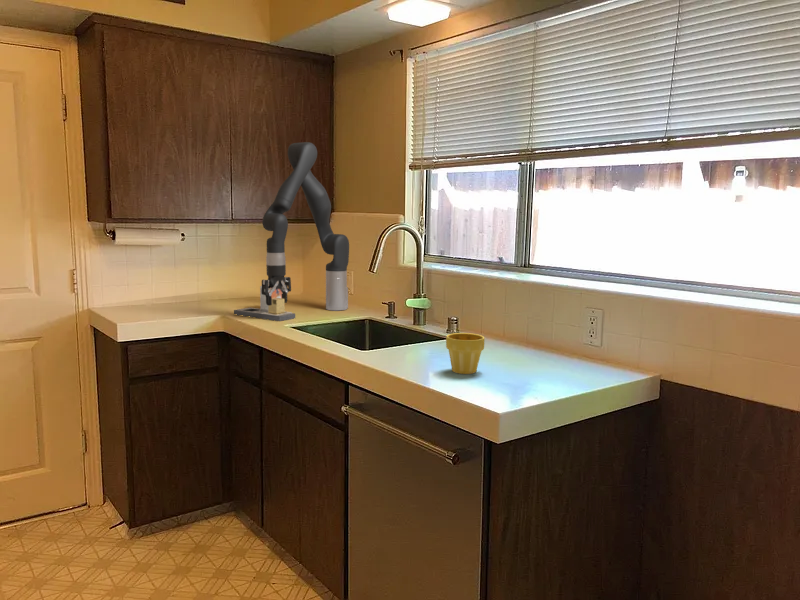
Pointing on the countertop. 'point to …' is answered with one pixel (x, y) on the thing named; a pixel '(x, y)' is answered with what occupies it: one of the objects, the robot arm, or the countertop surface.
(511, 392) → the countertop surface
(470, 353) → the plant pot
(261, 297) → the small box
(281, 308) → the nut block
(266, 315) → the grey slotted board
